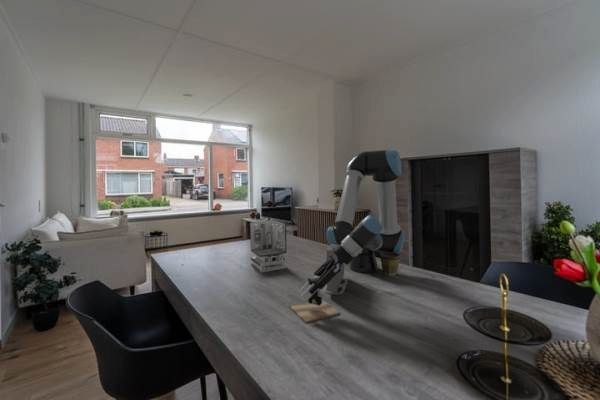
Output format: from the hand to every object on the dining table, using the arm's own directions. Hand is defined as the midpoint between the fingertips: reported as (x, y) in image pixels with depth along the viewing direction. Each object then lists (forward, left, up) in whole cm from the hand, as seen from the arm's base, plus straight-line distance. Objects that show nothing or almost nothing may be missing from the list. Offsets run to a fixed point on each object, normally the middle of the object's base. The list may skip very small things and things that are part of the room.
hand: (303, 294), depth 103 cm
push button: (+2, +3, -4) cm, 5 cm away
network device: (-15, +24, -6) cm, 29 cm away
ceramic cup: (-18, +58, -6) cm, 61 cm away
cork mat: (+1, +3, -6) cm, 7 cm away
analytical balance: (-58, +6, -6) cm, 58 cm away
